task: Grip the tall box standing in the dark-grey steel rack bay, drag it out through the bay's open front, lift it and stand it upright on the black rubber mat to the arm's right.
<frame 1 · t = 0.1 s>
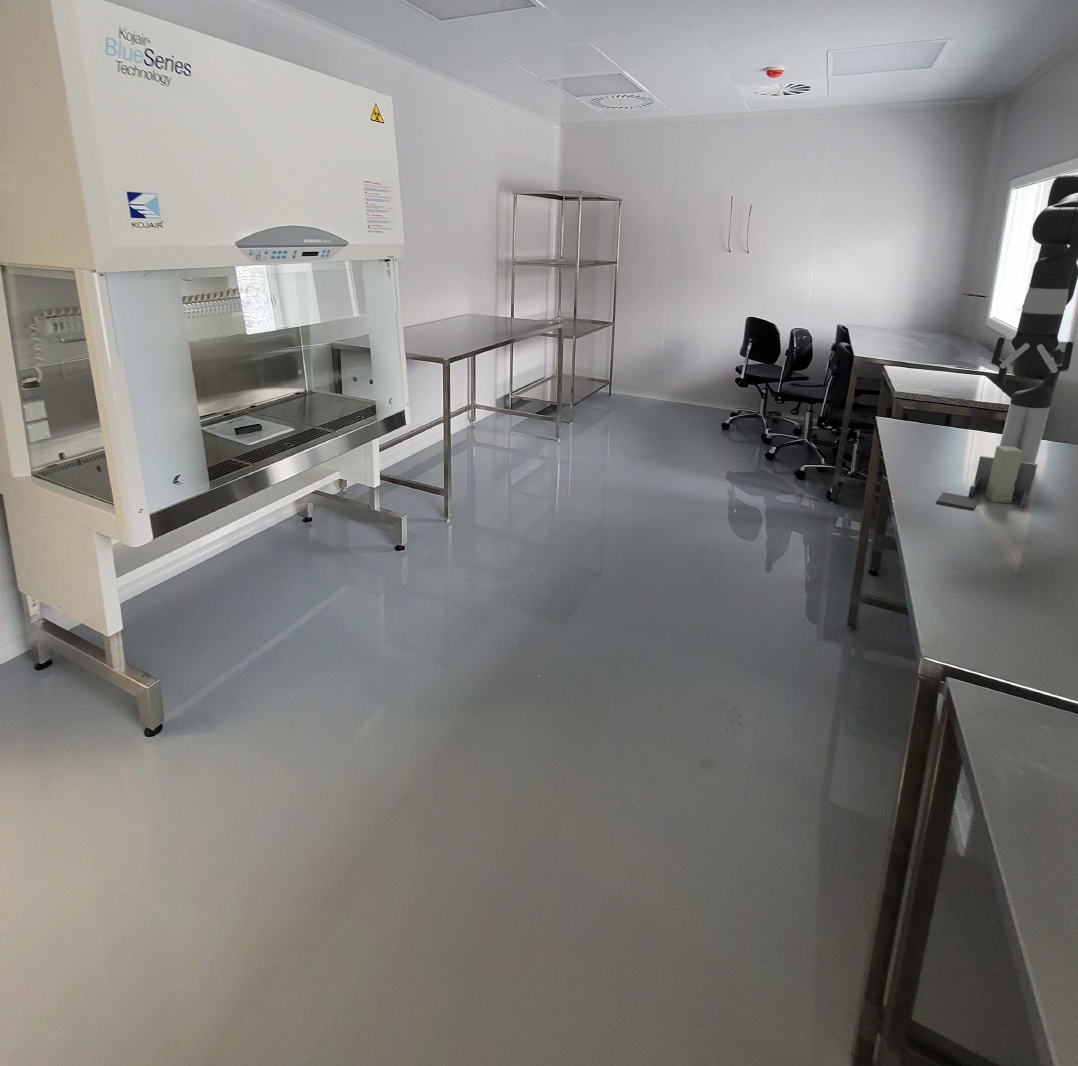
hand: (1023, 387, 161), 29 cm above the table, fingers open, 8 cm apart
mat: (957, 502, 178), on the table
rack bay: (997, 499, 180), on the table
box: (997, 500, 180), on the table
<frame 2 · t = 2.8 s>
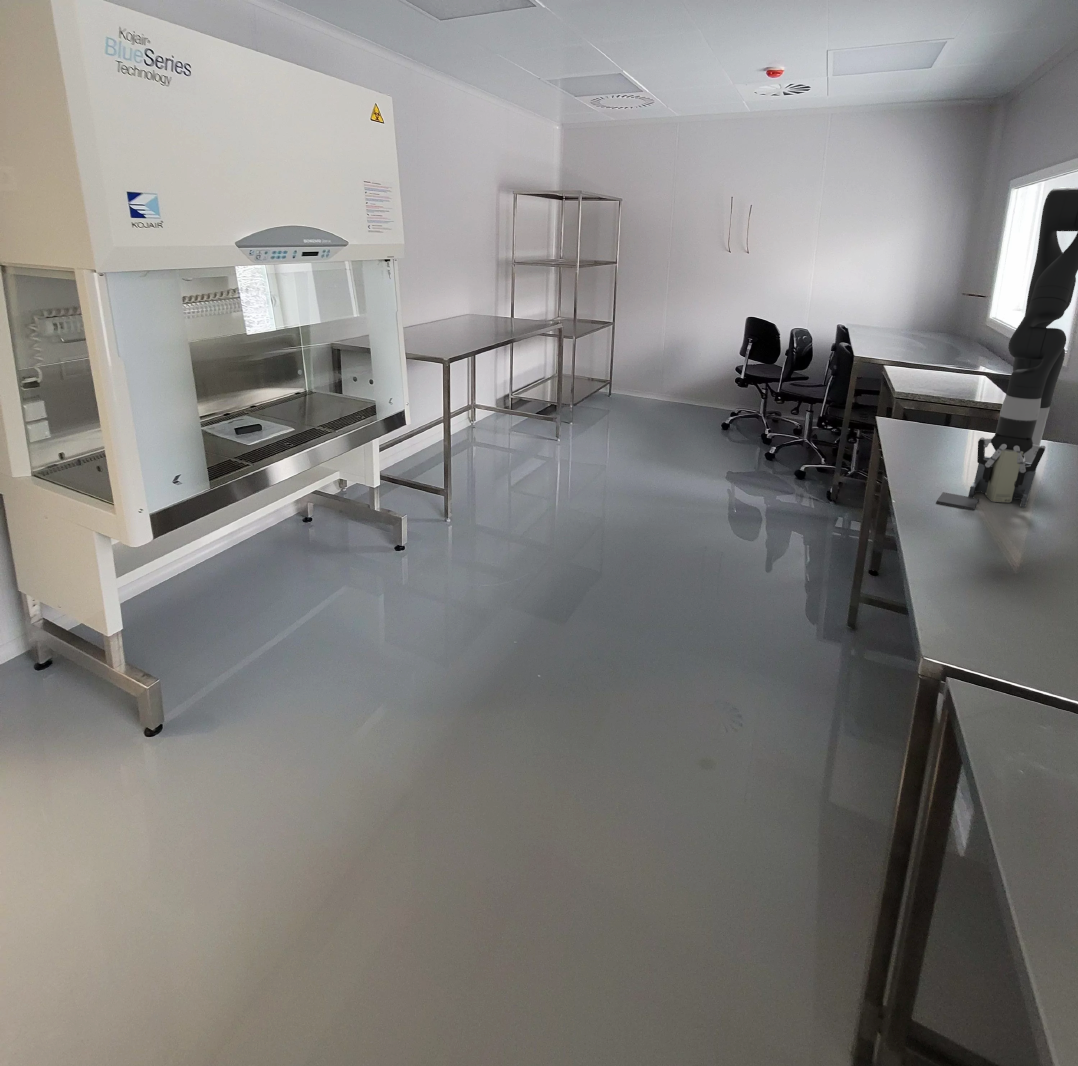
hand: (1001, 483, 178), 4 cm above the table, fingers closed on box, 5 cm apart
box: (997, 500, 180), on the table, touching gripper
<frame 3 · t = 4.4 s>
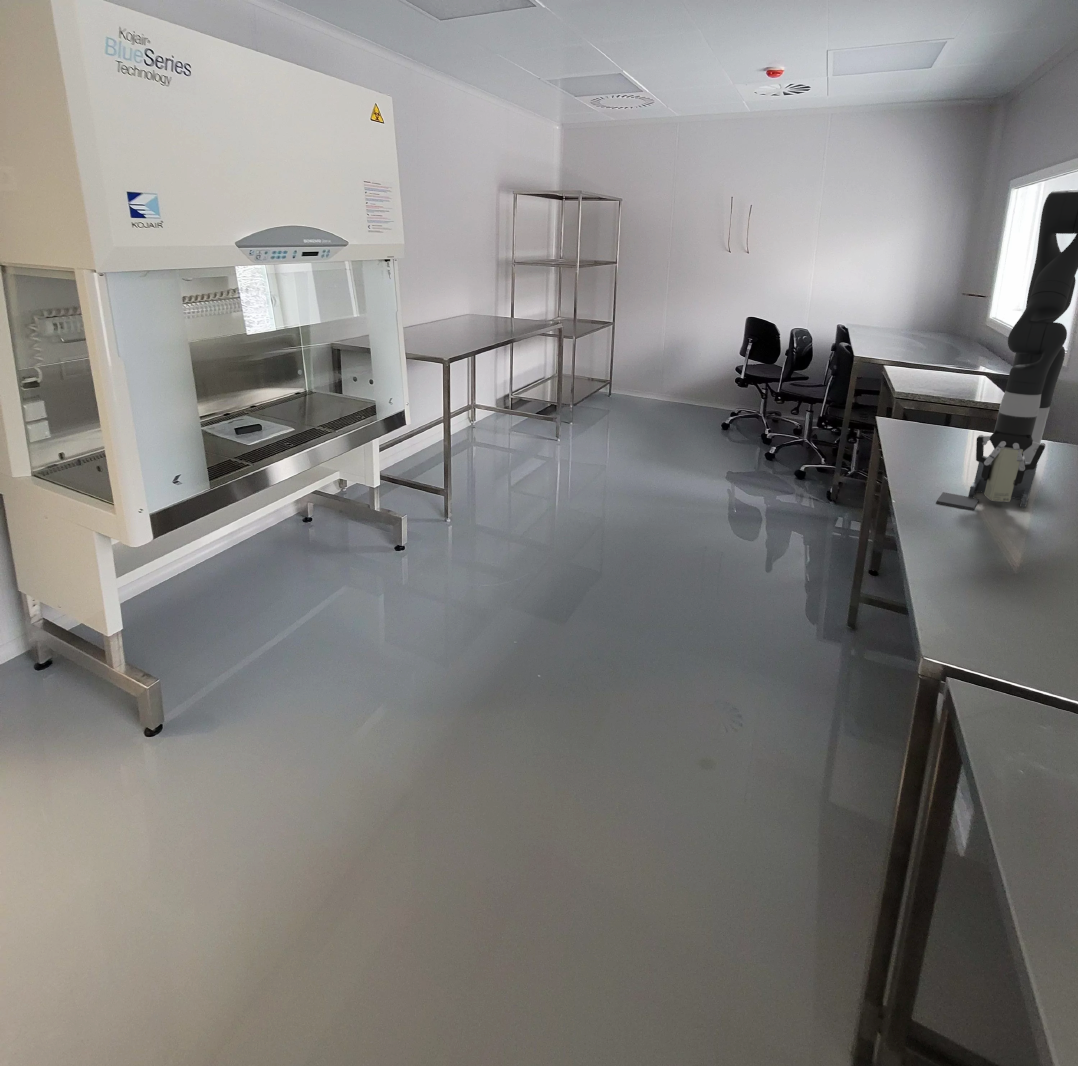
hand: (1000, 482, 174), 6 cm above the table, fingers closed on box, 5 cm apart
box: (995, 499, 176), point 1 cm above the table, touching gripper
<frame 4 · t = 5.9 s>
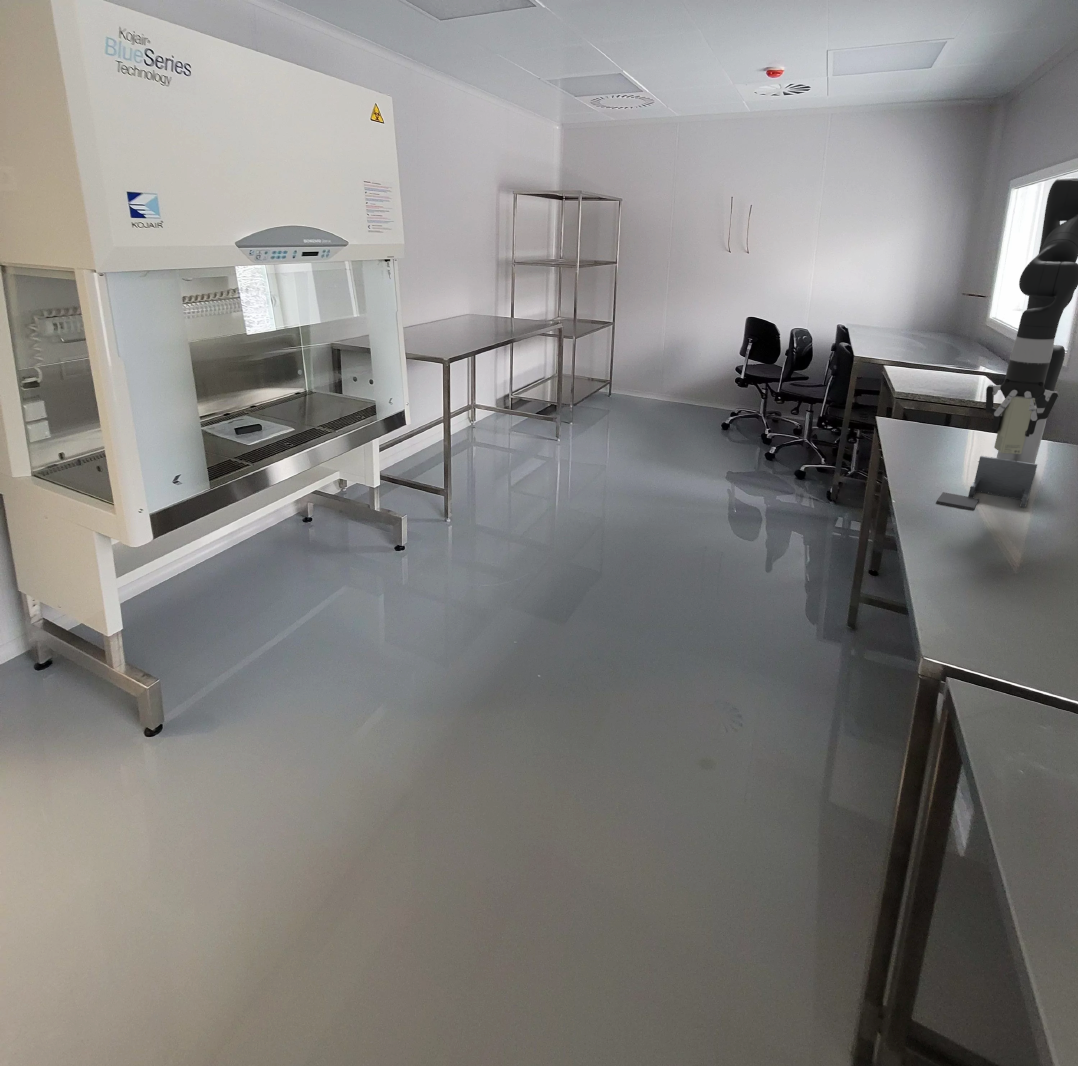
hand: (1011, 433, 167), 18 cm above the table, fingers closed on box, 5 cm apart
box: (1006, 452, 169), point 14 cm above the table, touching gripper
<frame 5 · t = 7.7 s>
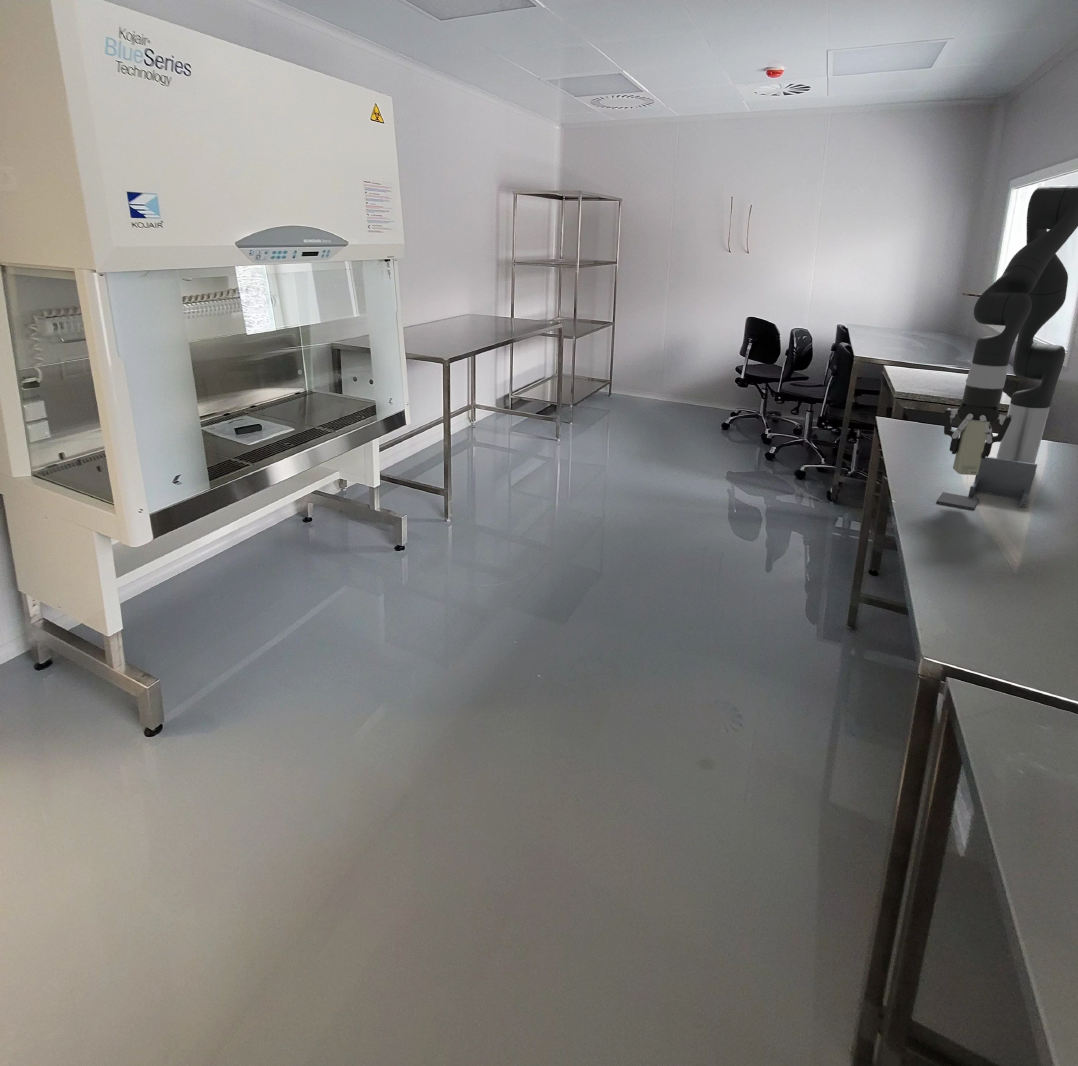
hand: (968, 455, 173), 12 cm above the table, fingers closed on box, 5 cm apart
box: (964, 472, 175), point 7 cm above the table, touching gripper
when the fingers open (6 cm above the table, at t = 9.2 s): box drops 1 cm, resting on mat.
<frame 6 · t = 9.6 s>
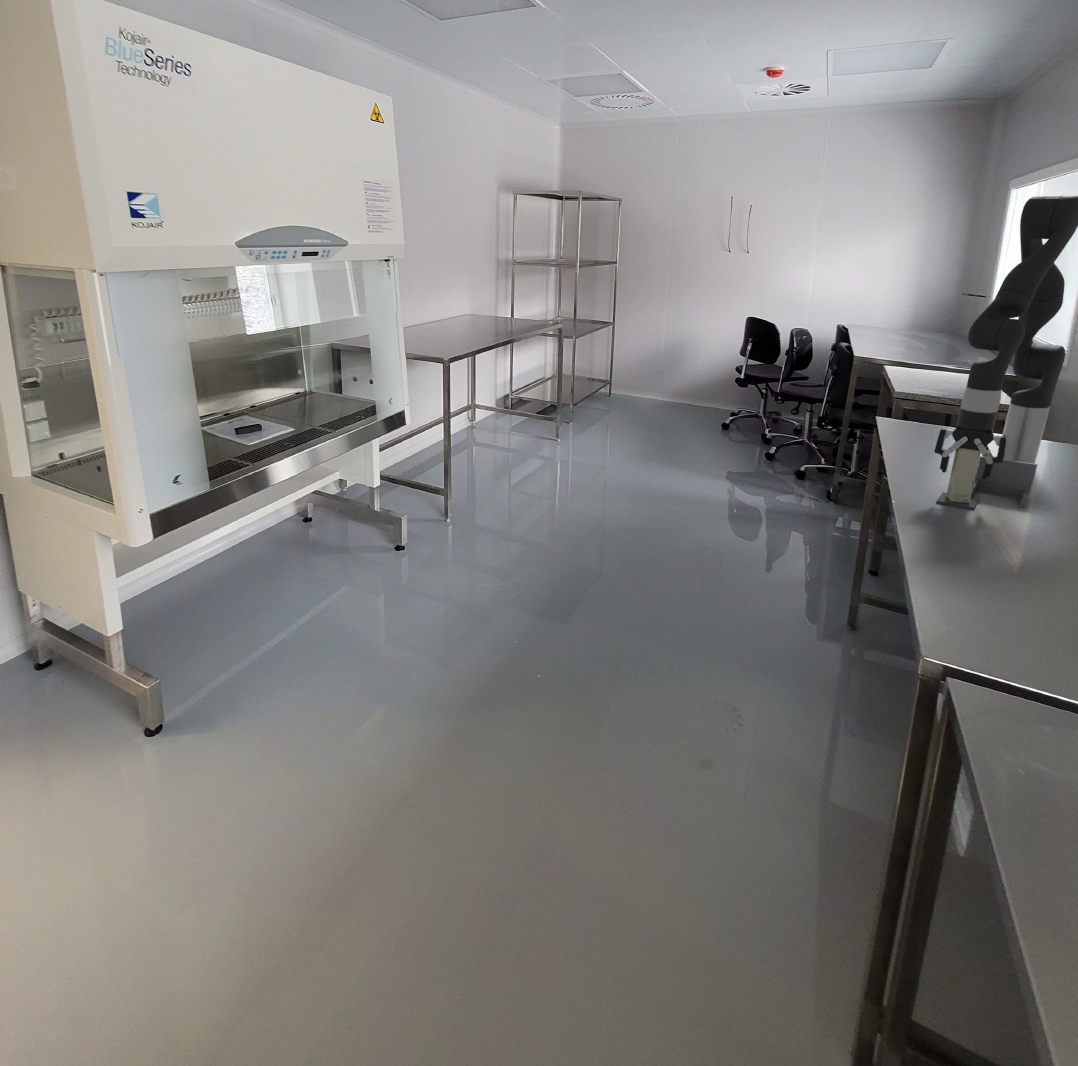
hand: (963, 474, 175), 7 cm above the table, fingers open, 8 cm apart
box: (957, 500, 178), resting on mat
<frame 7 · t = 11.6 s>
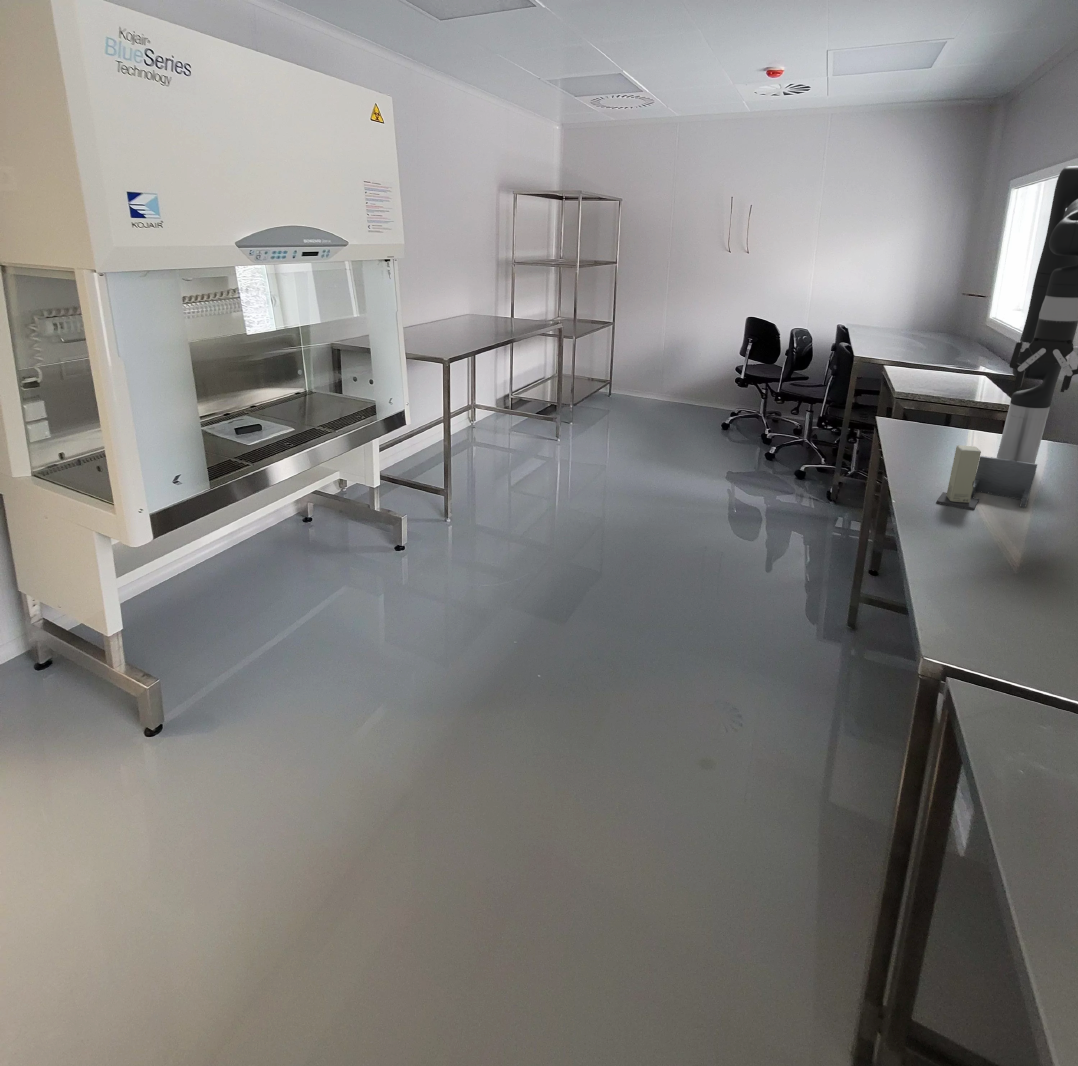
hand: (1040, 389, 171), 27 cm above the table, fingers open, 8 cm apart
nothing on the table moved.
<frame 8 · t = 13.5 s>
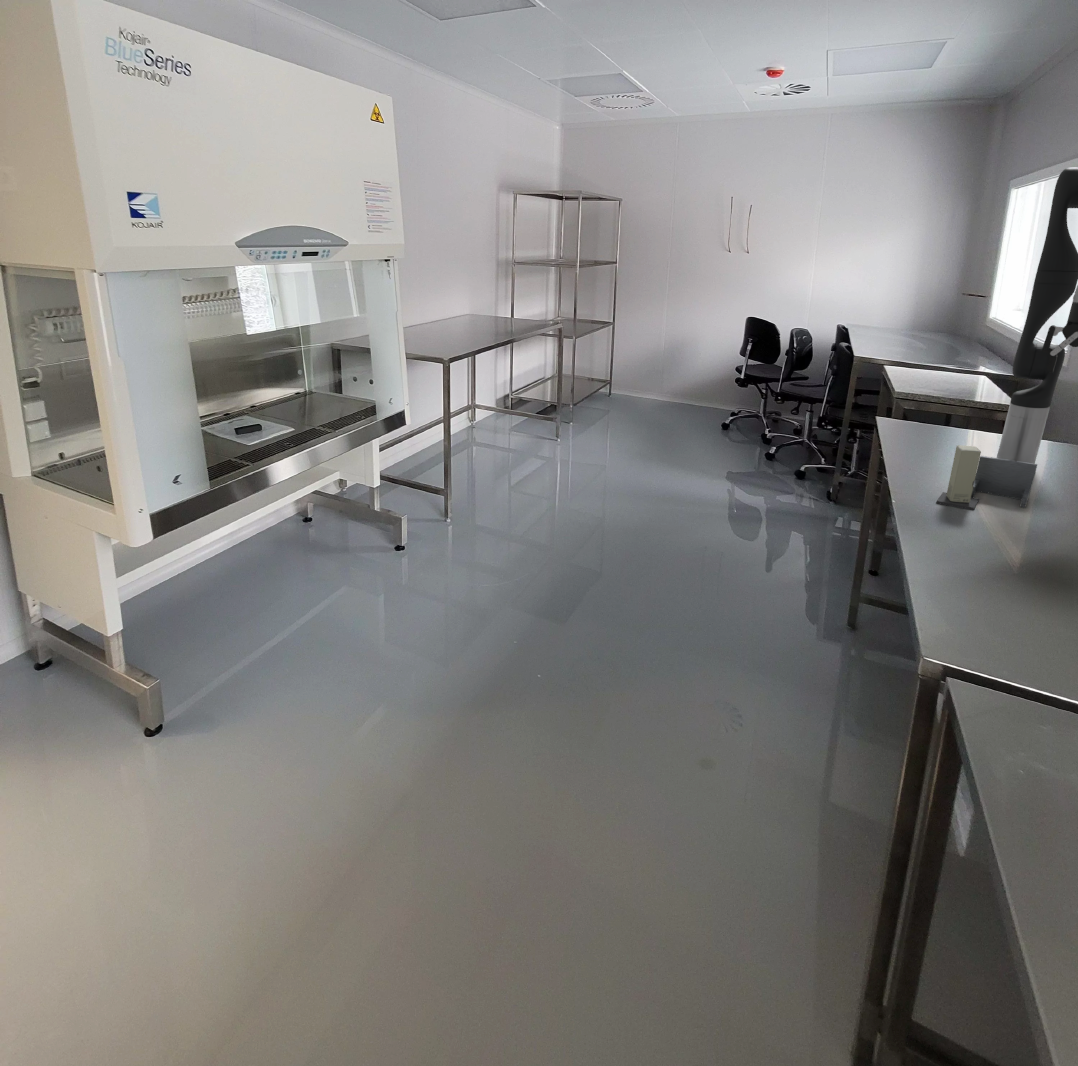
hand: (1073, 373, 170), 30 cm above the table, fingers open, 8 cm apart
nothing on the table moved.
at the end: box inside the target area on the mat (0.2 cm from its centre), point 0.4 cm above the mat's base; box tilted 0°; the gripper is holding nothing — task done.
